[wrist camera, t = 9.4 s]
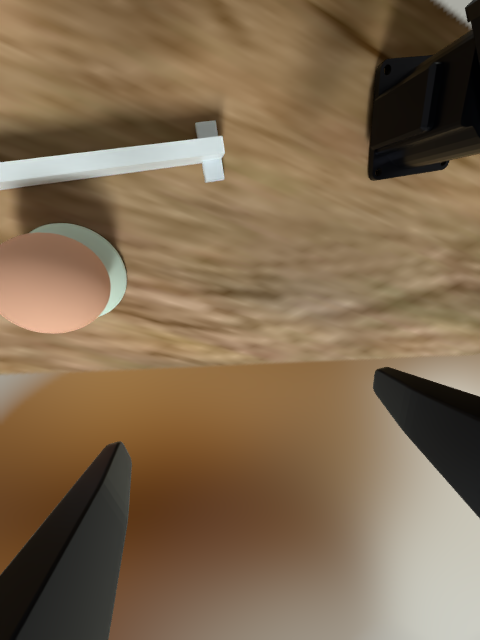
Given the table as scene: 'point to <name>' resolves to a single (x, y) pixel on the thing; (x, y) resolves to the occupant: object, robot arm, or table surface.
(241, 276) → the table surface
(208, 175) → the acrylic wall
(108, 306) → the felt coaster
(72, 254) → the ball
